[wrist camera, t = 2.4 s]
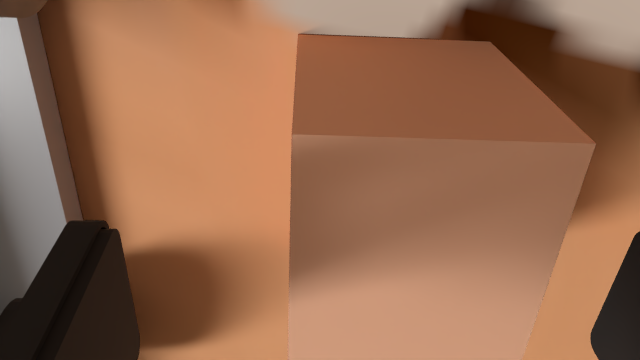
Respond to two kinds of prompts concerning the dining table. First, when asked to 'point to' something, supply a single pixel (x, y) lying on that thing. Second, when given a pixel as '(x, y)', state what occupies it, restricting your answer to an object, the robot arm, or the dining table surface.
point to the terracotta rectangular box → (423, 199)
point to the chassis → (29, 153)
